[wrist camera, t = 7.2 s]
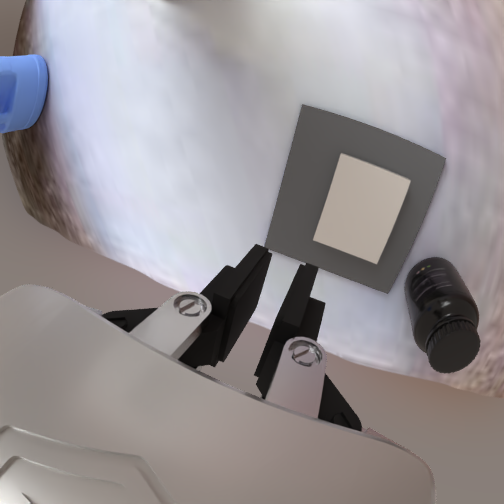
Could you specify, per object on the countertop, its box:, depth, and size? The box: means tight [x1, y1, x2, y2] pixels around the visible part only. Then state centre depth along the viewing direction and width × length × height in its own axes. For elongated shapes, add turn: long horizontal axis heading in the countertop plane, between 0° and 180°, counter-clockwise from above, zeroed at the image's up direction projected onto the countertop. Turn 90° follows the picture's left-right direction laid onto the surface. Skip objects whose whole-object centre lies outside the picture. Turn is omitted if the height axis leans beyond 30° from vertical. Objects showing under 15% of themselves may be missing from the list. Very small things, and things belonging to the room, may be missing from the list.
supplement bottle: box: [405, 257, 480, 373], centre depth 22 cm, size 7×7×12 cm
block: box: [313, 153, 411, 264], centre depth 26 cm, size 9×2×7 cm
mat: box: [264, 104, 446, 294], centre depth 27 cm, size 16×15×1 cm
